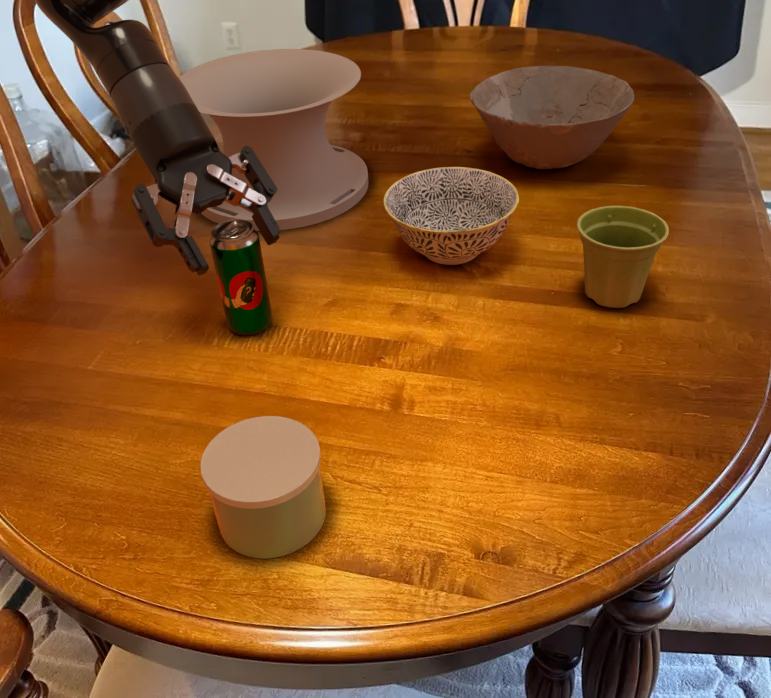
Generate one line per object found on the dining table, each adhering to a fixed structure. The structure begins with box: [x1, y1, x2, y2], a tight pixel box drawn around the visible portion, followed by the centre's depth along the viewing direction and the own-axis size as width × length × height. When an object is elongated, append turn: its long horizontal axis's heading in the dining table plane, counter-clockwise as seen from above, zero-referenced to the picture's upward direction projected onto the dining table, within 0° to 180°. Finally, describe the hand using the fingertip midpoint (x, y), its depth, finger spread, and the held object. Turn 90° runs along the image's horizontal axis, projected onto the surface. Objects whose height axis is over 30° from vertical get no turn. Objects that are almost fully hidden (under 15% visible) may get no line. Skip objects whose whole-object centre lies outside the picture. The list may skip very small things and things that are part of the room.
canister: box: [199, 415, 327, 559], centre depth 65 cm, size 9×9×7 cm
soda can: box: [209, 219, 273, 336], centre depth 85 cm, size 5×5×12 cm
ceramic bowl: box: [469, 65, 635, 170], centre depth 115 cm, size 22×23×10 cm
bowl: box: [382, 166, 520, 266], centre depth 97 cm, size 16×16×8 cm
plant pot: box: [576, 205, 670, 309], centre depth 87 cm, size 9×9×9 cm
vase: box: [178, 48, 370, 232], centre depth 110 cm, size 25×25×16 cm
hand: (240, 256), depth 83 cm, fingers open, 8 cm apart
